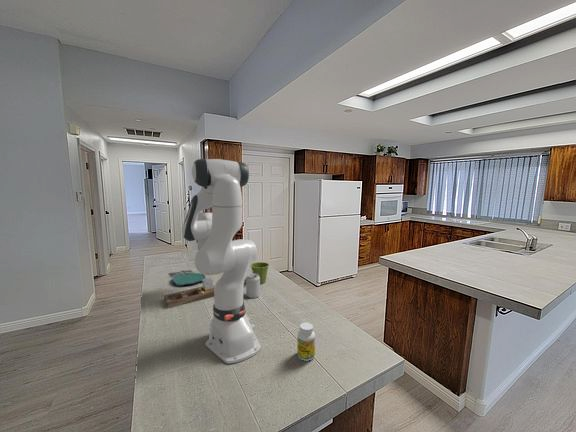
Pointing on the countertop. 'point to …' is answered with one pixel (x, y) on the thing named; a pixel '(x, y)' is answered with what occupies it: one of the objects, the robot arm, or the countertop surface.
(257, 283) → the can
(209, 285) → the steel block
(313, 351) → the supplement bottle
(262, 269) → the plant pot
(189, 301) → the walnut rail
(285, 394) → the countertop surface
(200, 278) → the cutlery set
